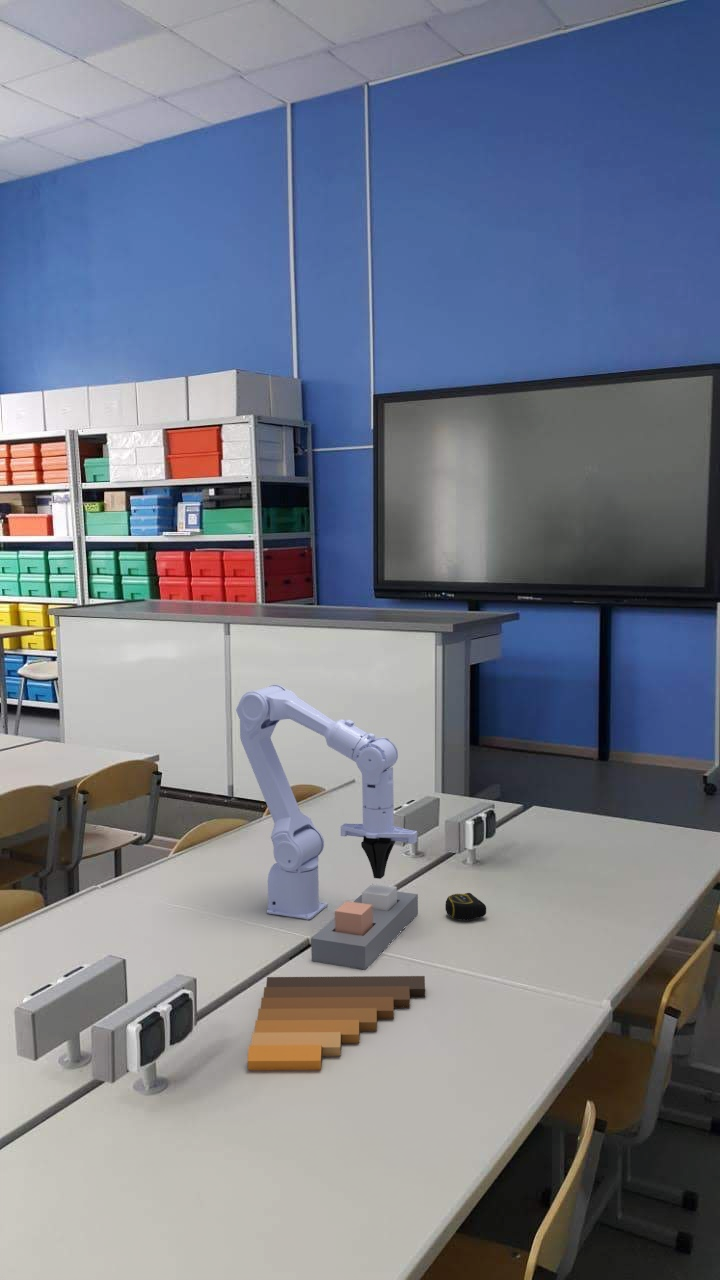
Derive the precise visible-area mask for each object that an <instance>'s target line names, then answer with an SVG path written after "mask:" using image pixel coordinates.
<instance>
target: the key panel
mask: <svg viewBox="0 0 720 1280" xmlns="http://www.w3.org/2000/svg"><path fill="white" fill-rule="evenodd" d="M418 899H419V895H418V893H411V892H403V891H397V904H396V905H395V906H394V907H393V908H392V909H391V910H390V911H383V910H376V909H373V927H372V928H371V929H370V930H369V931H368V932H367V933H366V934H365V935H364V936H360V935H353V934H347V933H340V932H335V917H334V918H333V919H331V920H330V921H329V922H328V923H327V924H326V925H324V927H322V929H320V930H319V931H318V932H316V933H315V934H314V935H313V936H312V937H311V938H310V945H311V946H310V949H311V950H310V951H311V961H312V962H318V963H323V964H324V963H325V964H329V965H334V966H335V965H336V966H342V967H347V968H354V969H358V970H360V969H361V970H367V969H368V968H369V967H370V966H371V965H372V964H373V963H374V961H375V960H376V959H377V958H378V957H379V956H380V955H381V954H382V953H383V952H384V951H385V950H386V949H387V948H386V947H387V946H388V945H390V944H391V943H392V942H393V941H394V940H395V939H396V938H397V937H398V936H399V935H400V934H401V933H400V931H402V929H403V928H404V927H405V926H406V925H407V926H409V924H410V923H411V922H412V921H413V920H414V919H415V918H416V917H417V916H418V915H419V900H418ZM353 902H356V903H362V894H361V895H359V896H358V897H357V898H355V900H354V901H353ZM417 914H418V915H417ZM416 915H417V916H416ZM415 916H416V917H415ZM414 917H415V918H414ZM413 918H414V919H413ZM412 919H413V920H412ZM411 920H412V921H411ZM410 921H411V922H410ZM409 922H410V923H409ZM408 923H409V924H408ZM402 932H403V931H402ZM399 933H400V934H399ZM398 934H399V935H398ZM397 935H398V936H397ZM396 936H397V937H396ZM395 937H396V938H395ZM394 938H395V939H394ZM393 939H394V940H393ZM392 940H393V941H392ZM391 941H392V942H391ZM390 942H391V943H390ZM389 943H390V944H389ZM388 947H389V946H388ZM385 948H386V949H385ZM384 949H385V950H384ZM383 950H384V951H383ZM382 951H383V952H382ZM381 952H382V953H381ZM380 953H381V954H380ZM379 954H380V955H379ZM378 955H379V956H378ZM377 956H378V957H377ZM369 965H370V966H369ZM368 966H369V967H368Z"/></svg>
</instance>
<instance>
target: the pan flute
mask: <svg viewBox="0 0 720 1280" xmlns="http://www.w3.org/2000/svg"><path fill="white" fill-rule="evenodd" d="M425 979H426V978H425V975H387V976H386V975H384V976H383V975H379V976H376V975H375V976H374V975H373V976H372V975H371V976H369V975H368V976H359V975H358V976H353V975H352V976H267V977H266V985H265V987H263V997H261V1001H260V1008H258V1013H257V1019H255V1022H254V1023H255V1024H254V1032H252V1034H251V1041H250V1042H251V1044H250V1045H248V1050H247V1051H248V1053H247V1067H248V1068H247V1069H248V1071H282V1070H283V1071H299V1070H300V1071H306V1070H307V1071H308V1070H309V1071H310V1070H311V1071H313V1070H315V1071H316V1070H317V1071H319V1070H320V1071H321V1070H322V1067H323V1057H341V1056H342V1045H343V1044H360V1038H361V1037H360V1036H361V1035H360V1032H365V1031H366V1032H371V1031H372V1032H375V1031H376V1032H377V1031H378V1020H394V1019H395V1017H394V1016H395V1015H394V1008H395V1009H400V1008H401V1009H405V1008H407V1009H408V1008H410V1007H411V1005H410V1004H411V999H410V998H422V997H423V998H426V982H425V981H426V980H425Z"/></svg>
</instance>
